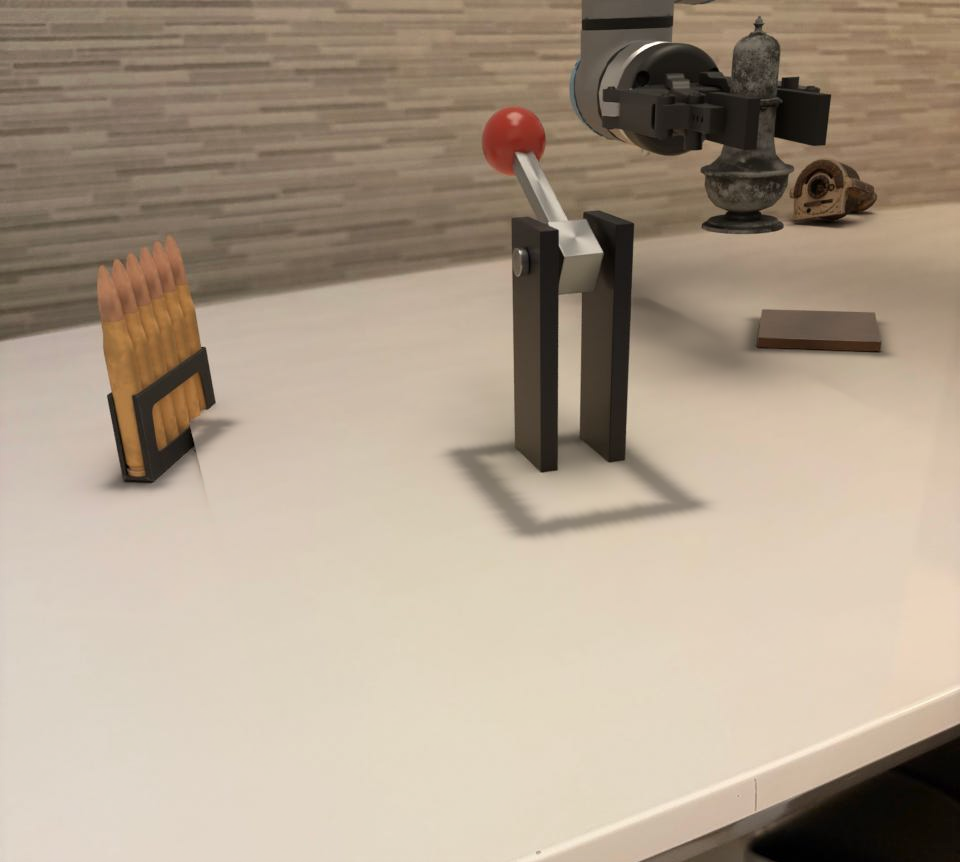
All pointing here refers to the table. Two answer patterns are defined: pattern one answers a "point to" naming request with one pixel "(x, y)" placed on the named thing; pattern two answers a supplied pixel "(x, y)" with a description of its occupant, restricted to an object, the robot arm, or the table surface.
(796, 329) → the coaster
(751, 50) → the salt shaker
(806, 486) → the table surface
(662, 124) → the robot arm
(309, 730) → the table surface
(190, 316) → the ammunition clip
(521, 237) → the bracket
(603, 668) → the table surface
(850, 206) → the mechanical counter
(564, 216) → the lever
